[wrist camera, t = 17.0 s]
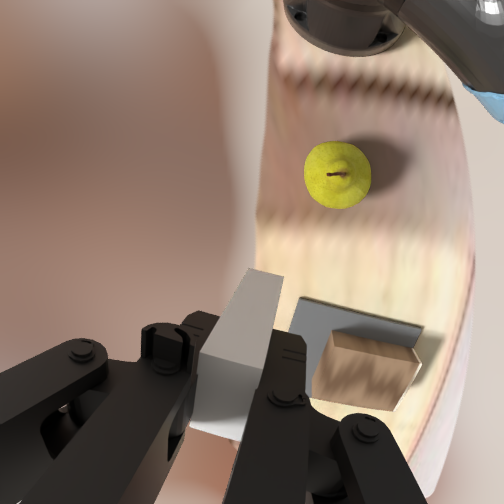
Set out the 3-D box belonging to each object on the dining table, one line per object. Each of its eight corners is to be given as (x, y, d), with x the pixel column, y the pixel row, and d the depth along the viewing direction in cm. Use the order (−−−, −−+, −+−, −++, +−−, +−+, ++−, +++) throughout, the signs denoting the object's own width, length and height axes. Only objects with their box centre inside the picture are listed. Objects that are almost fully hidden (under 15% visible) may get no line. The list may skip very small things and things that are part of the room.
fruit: (366, 149, 33) (396, 137, 21) (360, 208, 35) (388, 224, 23) (305, 141, 34) (309, 124, 22) (301, 201, 35) (301, 213, 24)
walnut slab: (334, 346, 34) (422, 364, 33) (331, 330, 38) (413, 348, 37) (311, 397, 36) (395, 411, 35) (311, 379, 40) (389, 394, 39)
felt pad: (299, 297, 38) (299, 299, 37) (420, 327, 37) (421, 329, 36) (269, 385, 42) (269, 388, 41) (378, 407, 40) (379, 409, 40)
